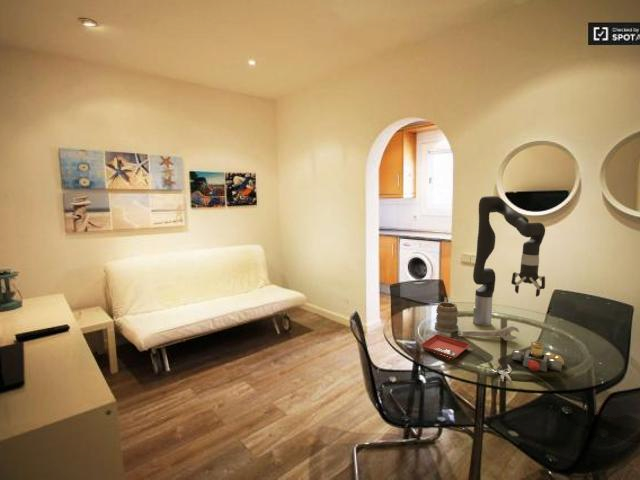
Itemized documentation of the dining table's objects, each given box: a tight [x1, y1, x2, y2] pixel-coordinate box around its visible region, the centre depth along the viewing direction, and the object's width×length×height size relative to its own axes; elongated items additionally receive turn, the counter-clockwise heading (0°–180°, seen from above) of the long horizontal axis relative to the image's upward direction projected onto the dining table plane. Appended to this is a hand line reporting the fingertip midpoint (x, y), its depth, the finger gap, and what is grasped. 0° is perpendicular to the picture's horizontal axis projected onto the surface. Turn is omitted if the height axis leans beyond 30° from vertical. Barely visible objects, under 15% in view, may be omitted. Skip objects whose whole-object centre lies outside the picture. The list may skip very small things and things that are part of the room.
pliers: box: [486, 362, 512, 383], centre depth 153 cm, size 10×2×15 cm
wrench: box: [457, 325, 520, 342], centre depth 188 cm, size 8×2×30 cm
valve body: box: [511, 349, 563, 373], centre depth 158 cm, size 19×13×5 cm
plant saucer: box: [420, 333, 471, 359], centre depth 176 cm, size 18×18×3 cm
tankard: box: [434, 296, 459, 334], centre depth 205 cm, size 20×13×15 cm, turn 161°
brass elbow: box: [543, 352, 565, 367], centre depth 161 cm, size 7×4×6 cm
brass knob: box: [530, 341, 544, 360], centre depth 159 cm, size 5×5×8 cm
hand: (526, 294), depth 175 cm, fingers open, 8 cm apart
